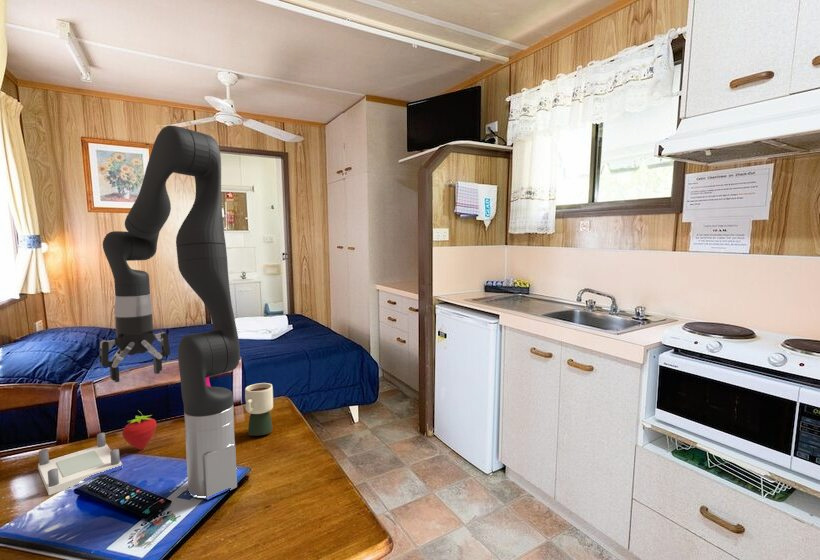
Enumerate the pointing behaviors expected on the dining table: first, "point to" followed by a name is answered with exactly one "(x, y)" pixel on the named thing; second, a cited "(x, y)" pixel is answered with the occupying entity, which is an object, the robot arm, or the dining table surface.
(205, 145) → the robot arm
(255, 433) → the character mug
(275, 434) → the dining table surface
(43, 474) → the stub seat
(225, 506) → the dining table surface
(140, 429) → the strawberry
